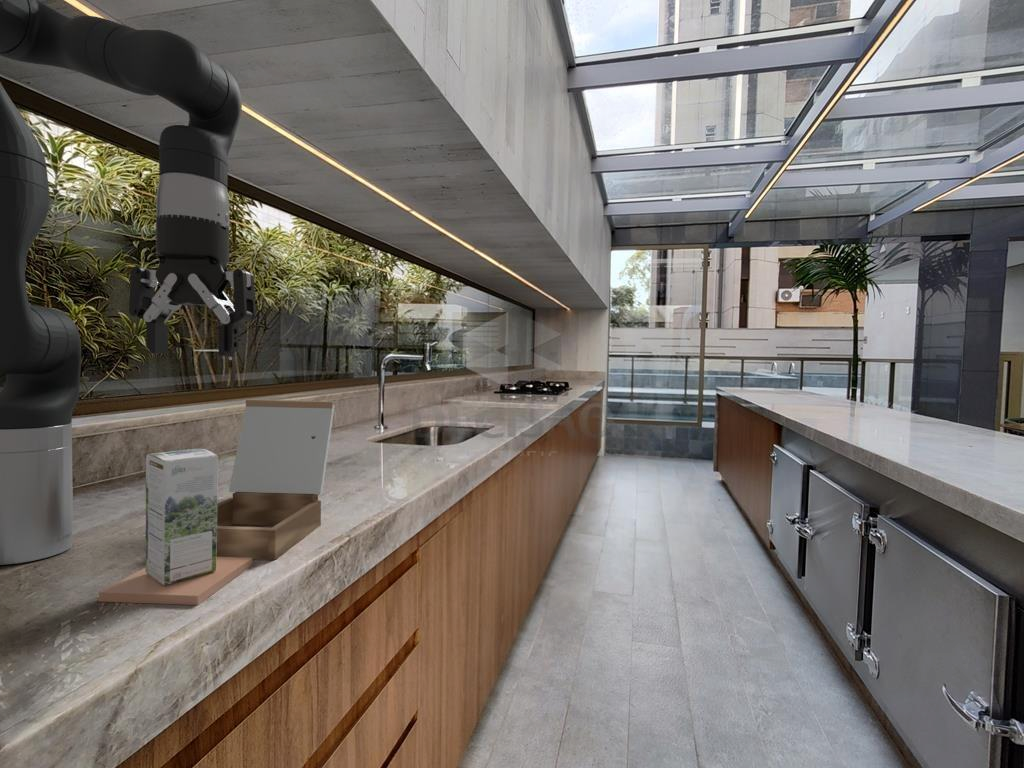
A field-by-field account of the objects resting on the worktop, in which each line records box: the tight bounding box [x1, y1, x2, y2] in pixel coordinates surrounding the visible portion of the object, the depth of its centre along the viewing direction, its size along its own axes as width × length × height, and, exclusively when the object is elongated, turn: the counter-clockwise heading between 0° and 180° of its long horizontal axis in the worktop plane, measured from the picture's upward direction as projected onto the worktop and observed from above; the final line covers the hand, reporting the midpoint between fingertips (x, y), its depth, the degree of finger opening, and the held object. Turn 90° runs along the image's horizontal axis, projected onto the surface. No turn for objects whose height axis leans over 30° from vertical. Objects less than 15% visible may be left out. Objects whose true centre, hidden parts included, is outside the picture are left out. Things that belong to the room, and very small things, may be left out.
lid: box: [228, 399, 336, 496], centre depth 86 cm, size 15×6×15 cm, turn 88°
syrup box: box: [145, 448, 219, 586], centre depth 61 cm, size 6×6×14 cm
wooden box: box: [217, 436, 322, 561], centre depth 78 cm, size 15×19×14 cm
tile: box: [98, 557, 254, 606], centre depth 61 cm, size 11×11×1 cm
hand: (192, 355), depth 63 cm, fingers open, 8 cm apart
